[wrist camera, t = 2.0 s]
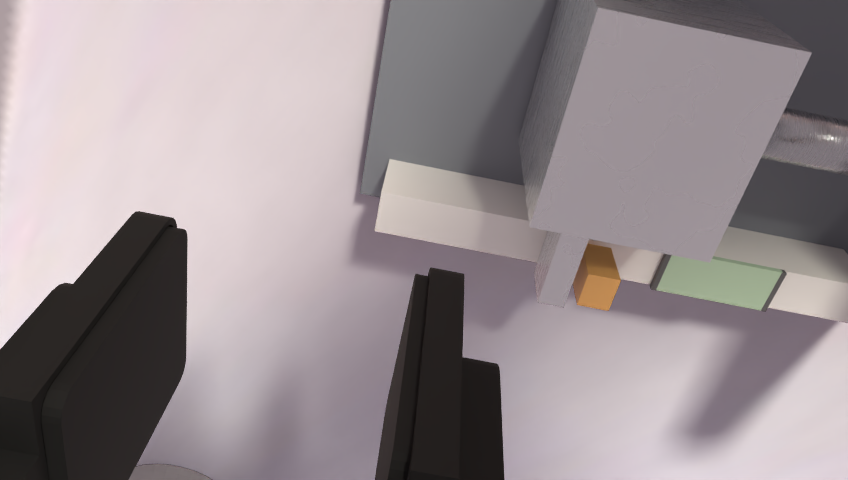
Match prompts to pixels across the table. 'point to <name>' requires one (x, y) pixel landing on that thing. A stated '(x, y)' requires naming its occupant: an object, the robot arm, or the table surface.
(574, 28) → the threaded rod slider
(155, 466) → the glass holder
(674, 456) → the table surface
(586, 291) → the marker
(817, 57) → the track
